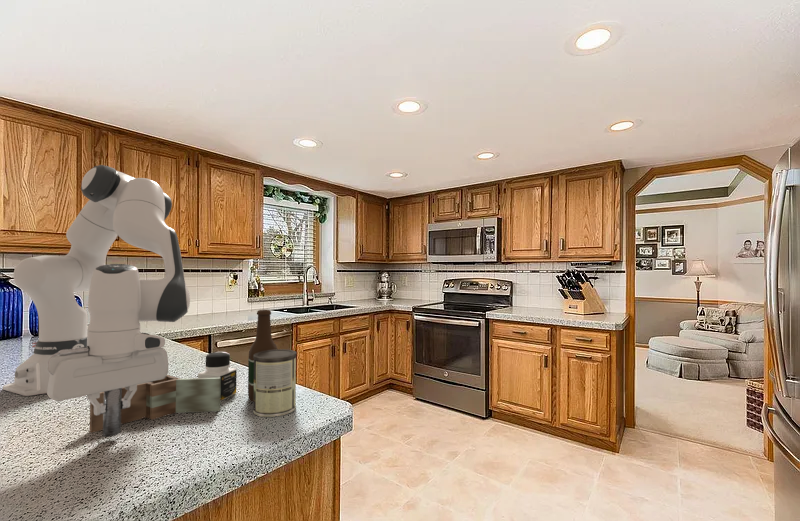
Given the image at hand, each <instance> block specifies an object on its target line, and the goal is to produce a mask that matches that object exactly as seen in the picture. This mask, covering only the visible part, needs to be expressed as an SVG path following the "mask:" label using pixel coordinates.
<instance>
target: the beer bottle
mask: <svg viewBox="0 0 800 521" xmlns="http://www.w3.org/2000/svg"><path fill="white" fill-rule="evenodd" d="M256 315H257V323H256V324H257V325H256V336H255V340H253V342H252V344H251V345H250V348H249V351H248V366H247V368H248V369H247V373H248V374H247V375H248V376H247V396H248V400H249V401H250V402H251V403H254V358H253V355H254V354H255V353H258V352H261V351H266V350H276V349H278V346H277V344H276V343H275V342H274V340H273V337H272V325H271V315H272V312H271V310H270V309H259V310H257V312H256Z"/></svg>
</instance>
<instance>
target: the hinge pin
mask: <svg viewBox="0 0 800 521" xmlns="http://www.w3.org/2000/svg"><path fill="white" fill-rule="evenodd" d="M104 404H105V405H106V409H105V410H106V413H104V414H103V430H102V437H103V438H108V437H110V438H111V437H115V436H118V435H120V434H121V432H122V424H121V406H122V388H119V389H114V390H110V391H105V392H104Z"/></svg>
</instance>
